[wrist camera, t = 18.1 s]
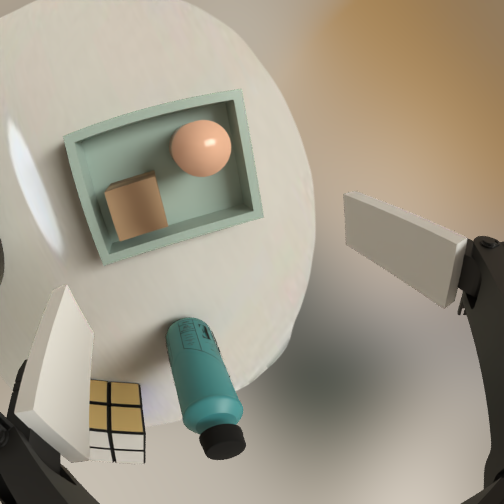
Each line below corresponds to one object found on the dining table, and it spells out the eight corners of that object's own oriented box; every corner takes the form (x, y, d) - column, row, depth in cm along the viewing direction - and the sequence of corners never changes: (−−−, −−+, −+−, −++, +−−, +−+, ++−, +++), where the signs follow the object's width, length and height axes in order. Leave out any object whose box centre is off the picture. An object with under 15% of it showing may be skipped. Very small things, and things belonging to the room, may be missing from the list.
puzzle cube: (139, 418, 44) (145, 465, 35) (85, 414, 40) (84, 460, 31) (140, 382, 41) (145, 433, 32) (78, 376, 37) (73, 427, 28)
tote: (107, 251, 32) (103, 265, 28) (72, 135, 26) (63, 136, 22) (251, 208, 36) (263, 217, 32) (230, 93, 30) (241, 88, 26)
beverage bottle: (155, 338, 38) (178, 466, 21) (177, 301, 37) (212, 430, 20) (196, 352, 41) (236, 469, 24) (218, 318, 40) (274, 436, 23)
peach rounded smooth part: (173, 173, 31) (180, 183, 25) (164, 128, 28) (168, 127, 22) (218, 162, 32) (235, 169, 26) (209, 118, 30) (225, 115, 23)
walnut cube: (123, 225, 31) (119, 241, 26) (110, 183, 29) (104, 192, 24) (165, 213, 32) (168, 226, 28) (154, 170, 30) (155, 176, 25)
